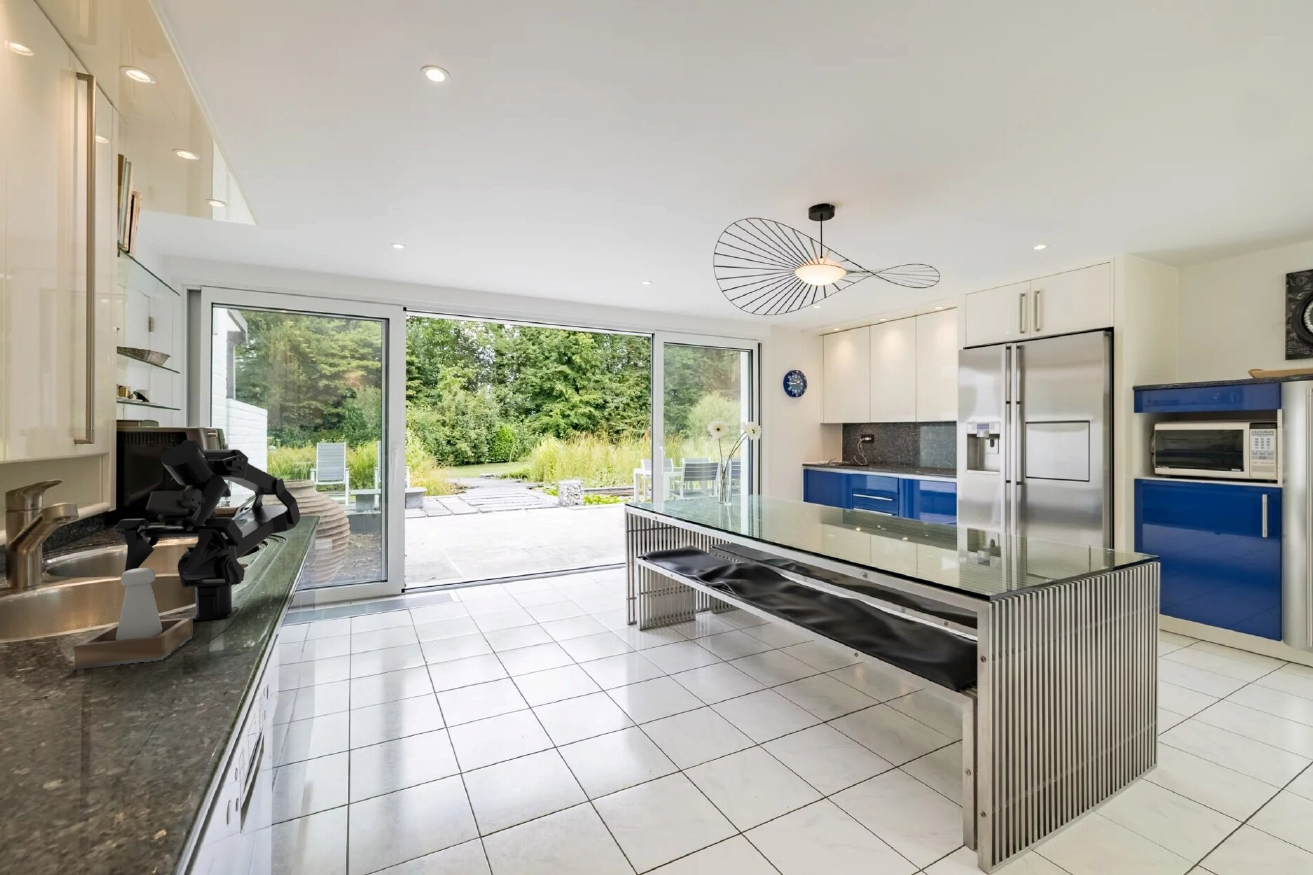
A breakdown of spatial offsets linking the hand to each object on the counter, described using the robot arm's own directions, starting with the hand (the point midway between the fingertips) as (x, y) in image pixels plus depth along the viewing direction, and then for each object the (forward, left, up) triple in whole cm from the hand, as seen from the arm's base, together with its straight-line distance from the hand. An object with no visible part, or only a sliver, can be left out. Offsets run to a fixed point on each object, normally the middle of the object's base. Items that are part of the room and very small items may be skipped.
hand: (156, 573), depth 101 cm
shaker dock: (+4, -1, -12) cm, 13 cm away
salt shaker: (+4, -1, -12) cm, 12 cm away
